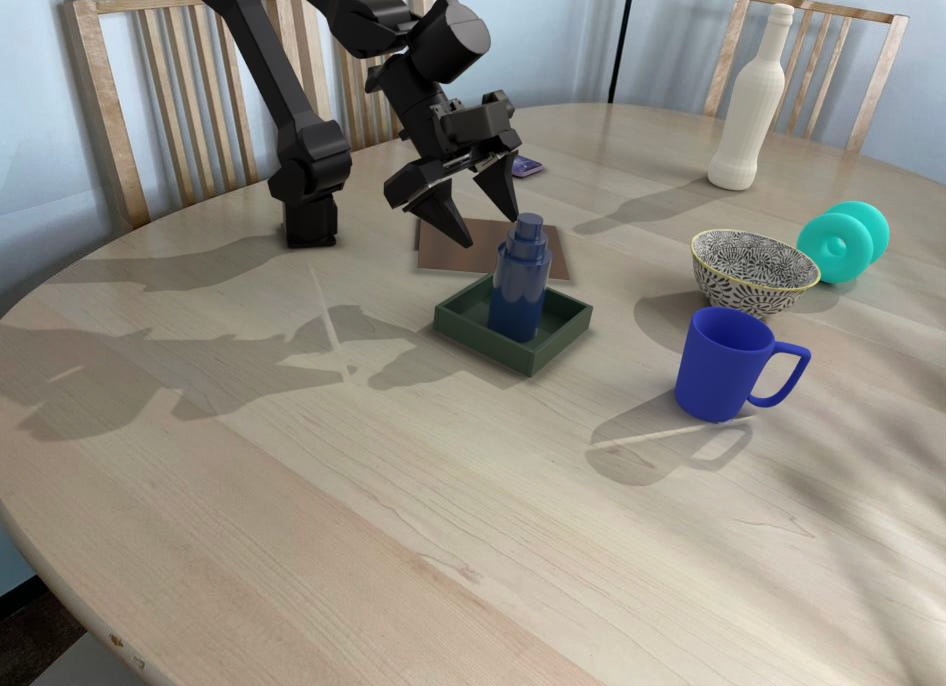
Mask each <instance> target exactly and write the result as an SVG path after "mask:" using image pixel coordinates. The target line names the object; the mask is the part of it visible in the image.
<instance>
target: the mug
mask: <svg viewBox="0 0 946 686" xmlns="http://www.w3.org/2000/svg"><path fill="white" fill-rule="evenodd" d="M683 346H684V347H683V351H682V355H681V359H680V363H679V368H678V372H677V376H676V381H675V387H674V396H675V400H676V403H677V405H679V407H680V408H681V409H682V410H683V411H684V412H686V413H687V414H689V415H690V416H691V417H694V418H696V419H699V420H701V421H704V422H709V423H713V424H714V423H715V424H718V423H719V424H720V423H726V422H728V421H731V420H732V419H734V418H735V417H736V416H737V415H738V414H739V413H740V411H741V410H742V408H743V406H744V404H745V403H746V401H747V402H748V403H749V404H751V406H752V405H753V406H754V407H757V408H762V409H769V408H773V407H776V406H777V405H779V404H780V403H782V402H783V401H784V400H785V399H786V398H787V397H788V396H789V394H791V392H792V390H793V389H794V388H795V387H796V386H797V384H798V382H799V380H800V379H801V378H802V376H803V374H804V372H805V370H806V368H807V367H808V365H809V363H810V361H811V359H812V352H811V350H810V349H809V348H807V347H804V346H802V345H798V344H793V343H790V342H785V341H778V340H776V336H775V335H774V333H773V331H772V330H771V328H770V327H769V326H768V325H767V324H766V323H764V322H763V321H762V320H761V319H757V318H756V317H754V316H752V315H750V314H747V313H745V312H742V311H739V310H736V309H731V308H726V307H712V306H707V307H703V308H700V309H698V310H696V311H694V312H693V314H692V315H691V317H690V321H689V324H688V329H687V334H686V338H685V342H684V345H683ZM777 354H789V355H793V356H796V357H800V358H799V360H798V362H797V363H796V365H795V368H794V369H793V370H792V373H791V375H790V376H789V377H788V379H787V381H786V382H785V383H784V384H783V386H782V387H781V388H780V389H779V390H778V391H777V392H776V393H774V394H773V395H770V396H768V397H756V396H755V395H753V394H752V392H753V389H754V387H755V385H756V383H757V381H758V379H759V378H760V376H761V374H762V372H763V370H764V368H765V367H766V365H767V363H769V361H770V359H771V358H772V357H773V356H775V355H777Z"/></svg>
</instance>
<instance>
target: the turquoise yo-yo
mask: <svg viewBox="0 0 946 686" xmlns="http://www.w3.org/2000/svg"><path fill="white" fill-rule="evenodd" d="M889 242H890V226H889V224H888V221H887V219H886V217H885V216H884V215H883V214H882V212H881V211H880V210H879V209H877V208H876V207H875V206H873V205H871V204H869V203H866V202H863V201H858V200H847V201H842V202H839V203H836V204H834V205H832V206H831V207H829V208H828V209H827V210H825V211H824V212H823V214H821V215H818V216H815V217H814V218H812V219H811V220H810V221H808V222H807V223H806V224H805V225H804V226H803V228H802V229H801V230H800V232H799V234H798V236H797V240H796V246H795V248H796V249H797V250H799V251H801V252H802V253H804V254H805V255H806V256H808V257H809V258H810V259H811V260H812V261H813V262H814V263H815V264H816V265H817V266H818V268H819V270H820V273H821V277H820V280H819V281H821V282H824V283H828V284H843V283H847V282H849V281H852V280H855V279H856V278H858V277H859V276H860V275H861V274H863V273H864V272H865V271H866V269H868V267H869V266H870V265H872V264H874V263H875V262H876V261H878V260H879V259H880V258H881V257H882V256H883V254H884V253H885V252H886V250H887V248H888V245H889Z"/></svg>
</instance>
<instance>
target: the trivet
mask: <svg viewBox="0 0 946 686" xmlns="http://www.w3.org/2000/svg"><path fill="white" fill-rule="evenodd" d="M462 219H463V221H464V223H465V225H466V227H467V229H468V231H469V233H470V236H471V238H472V241H473V245H472V246H471V247H469V248H467V249H466V248H464V247H462V246H461V245H459V244H458V243H457V242H455V241H454V240H452V239H451V238H449V237H448V236H447V235H445V234H444V233H442V232H441V231H440V230H438V229H437V228H435V227H434V226H432V225H430V224H429V223H427V222H425V221H424V220H422V219H420V225H419V226H420V227H419V240H418V242H419V243H418V245H419V246H418V257H417V268H418V269H428V270H441V271H454V272H463V273H477V274H488V273H490V272H491V271H493V270H495V263H496V256H497V249H498V246H499V245H500V244H501V243H502V242H504V241H506V238H507V232H508V231H509V230H510V229H511V228H513V227H516V222H517V221H516V222H514V223H512V222H511V221H503V220H493V219H483V218H482V219H480V218H469V217H462ZM542 231H543V232H544V233H545V234H546V235H547V237H548V242H547V248H548V249H549V250H550V251H551V253H552V261H551V266H550V272H549V277H548V279H554V280H563V281H566V280H567V281H571V277H570V274H569V270H568V266H567V263H566V262H567V261H566V258H565V255H564V251H563V247H562V244H561V241H560V237H559V232H558V229H557V226H556V225H551V224H543V227H542Z"/></svg>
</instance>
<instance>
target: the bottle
mask: <svg viewBox="0 0 946 686" xmlns="http://www.w3.org/2000/svg"><path fill="white" fill-rule="evenodd" d="M770 10H771V11H770V14H769V16H768V17H767V20H766V21H767V24H766V27H765V29H764V33H763V36H762V39H761V42H760V44H759V48H758V50H757V53H756V56H755V57H754V58H753V59H752V60H750V61H749V62H748V63H747V64H746V65H744V66H743V67H742V69H741V70H740V72H739V73H738V74H737V76H736V79H735V81H734V84H733V88H732V92H731V96H730V101H729V106H728V108H727V113H726V117H725V121H724V126H723V130H722V134H721V137H720V138H721V139H720V142H719V146H718V147H717V148H718V149H717V150H716V152H715V153H714V155H713V156H712V158H711V160H710V163H709V166H708V170H707V179H708V181H709V182H710V183H712V184H713V185H714V186H716V187H718V188H721V189H725V190H729V191H737V192H738V191H744V190H748V189H749V188H750V187H751V186H752V184H753V182H754V180H755V177H756V174H757V171H758V157H759V153H760V151H761V147H762V145H763V143H764V140H765V138H766V136H767V133H768V130H769V128H770V125H771V124H772V123H771V122H772V121H773V118H774V115H775V113H776V110H777V108H778V105H779V103H780V101H781V98H782V95H783V92H784V89H785V85H786V78H785V77H786V76H785V73H784V69H783V68H782V65H781V61H780V60H781V57H782V54H783V51H784V47H785V45H786V41H787V38H788V34H789V31H790V27H791V26H792V25H793V21H794V20H793V15H794V14H795V7H794V6H792V5H790V4H787V3H781V2H779V3H774V4H772V6H771V8H770Z"/></svg>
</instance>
